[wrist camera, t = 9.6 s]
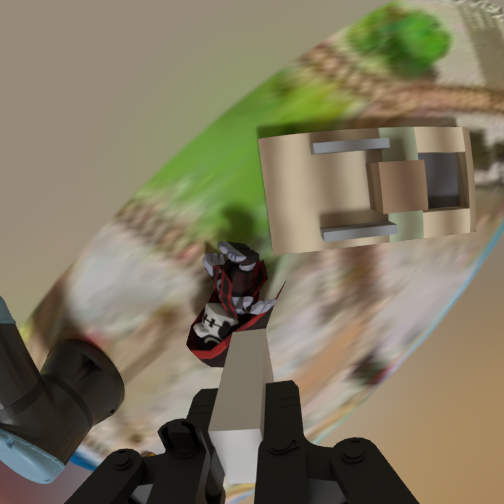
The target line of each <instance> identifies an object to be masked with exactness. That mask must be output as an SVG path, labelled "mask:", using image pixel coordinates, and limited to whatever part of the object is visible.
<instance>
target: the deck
mask: <svg viewBox="0 0 504 504" xmlns="http://www.w3.org/2000/svg"><path fill="white" fill-rule="evenodd" d="M258 144H259V151H260V158H261V165H262V173H263V180H264V187H265V195H266V202H267V210H268V217H269V225H270V232H271V240H272V248H273V256H274V255H283V254H292V253H301V252H310V251H318V250H327V249H336V248H344V247H353V246H361V245H370V244H378V243H387V242H395V241H404V240H412V239H421V238H429V237H437V236H445V235H454V234H462V233H470V232H476V202H475V184H474V171H473V161H472V152H471V144H470V136H469V129H468V128H464V127H386V128H364V129H347V130H334V131H322V132H311V133H301V134H292V135H283V136H275V137H268V138H260V139H258ZM408 160H424V164H425V173H426V184H427V197H428V210H420V211H410V212H400V213H389V214H382V213H380V212H377V211H375V210H372V209H370V200H369V190H368V180H367V172H366V164H369V163H377V162H390V161H408Z"/></svg>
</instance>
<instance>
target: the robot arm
mask: <svg viewBox="0 0 504 504" xmlns="http://www.w3.org/2000/svg"><path fill="white" fill-rule="evenodd" d="M123 400H124V386H123V382H122V379H121V377H120V375H119V373H118V371H117V370H116V368H115V367H114V365H113V364H112V363H111V362H110V361H109V359H108V358H107V357H106V356H105V355H104V354H102V353H101V352H100V351H99V350H97V349H96V348H95V347H93V346H91V345H90V344H88V343H85V342H83V341H80V340H76V339H66V340H63V341H61V342H59V343H58V344H57V345H56V346H55V347H53V348H52V349H51V351H50V352H49V354H48V356H47V359H46V361H45V363H44V365H43V367H42V369H41V371H40V373H39V371H38V369H37V367H36V365H35V364H34V362H33V360H32V358H31V356H30V354H29V352H28V350H27V348H26V346H25V344H24V342H23V340H22V338H21V335H20V333H19V331H18V329H17V327H16V321H15V320H14V319H13V318H12V316H11V314H10V312H9V310H8V308H7V306H6V303H5V301H4V300H3V298H2V297H1V296H0V460H1V461H2V462H4V463H5V464H6V465H7V466H9V467H10V468H11V469H13V470H14V471H15V472H17V473H18V474H20V475H22V476H24V477H25V478H27V479H29V480H32V481H34V482H37V483H41V484H47V483H51V482H52V481H53V480H54V479H55V478H56V477H57V476H58V475H59V474H60V472H61V471H62V470H64V469H65V465H66V464H67V463H68V461H69V460H70V458H71V457H72V455H73V454H74V452H75V451H76V449H77V448H78V447H79V445H80V444H81V442H82V441H83V439H84V438H85V437H86V435H87V434H88V432H89V431H90V429H91V428H92V427H93V426H95V425H96V424H98V423H100V422H101V421H103V420H105V419H106V418H108V417H110V416H111V415H113V414H114V413H115V412H116V411H117V410H118V408H119V407H120V405H121V404H122V402H123ZM158 434H159V437H160V439H161V441H162V443H163V445H164V447H165V449H166V451H165V453H163V454H159V455H154V456H148V457H141V455H140V454H139V452H137V451H135V450H133V449H127V448H126V449H119V450H117V451H114V452H112V453H111V454H110V455H109V456H107V457H106V459H105V460H104V461H103V462H102V463H101V464H100V465H99V466H98V467H97V468H96V470H95V471H94V472H93V473H92V474H91V475H90V476H89V477H88V478H87V480H86V481H85V482H84V483H83V484H82V485H81V486H80V487H79V488H78V489H77V490H76V491H75V493H74V494H73V495H72V496H71V497H70V498H69V499H68V500H67V501H66V502H65V503H64V504H225V497H226V495H225V490H224V487H223V481H224V476H225V478H226V481H227V483H228V484H240V483H256V485H255V498H254V504H419V502H418V501H417V500H416V499H415V497H414V496H413V494H411V492H410V491H409V489H408V488H407V487H406V485H405V484H404V483H403V482H402V480H401V479H400V477H399V476H398V475H397V473H396V472H395V471H394V469H393V468H392V467H391V466H390V464H389V463H388V462H387V460H386V459H385V457H384V456H383V455H382V454H381V452H380V451H379V449H378V448H377V447H376V445H375V444H373V443H372V442H371V441H370V440H367V439H364V438H357V437H353V438H348V439H344V440H342V441H340V442H339V443H337V444H336V445H335V446H334V447H333V448H332V447H322V446H317V445H315V444H312V443H311V442H309V441H308V440H307V439H306V438H305V436H304V433H303V423H302V413H301V404H300V396H299V388H298V386H297V385H296V384H295V383H294V382H293V381H292V380H289V381H281V382H273V371H272V365H271V359H270V353H269V347H268V341H267V335H266V330H265V329H257V330H249V331H240V332H233V333H232V337H231V341H230V345H229V349H228V353H227V357H226V361H225V365H224V369H223V373H222V377H221V381H220V385H219V388H214V389H201V390H200V391H199V392H198V393H197V394H196V395H195V396H194V398H193V401H192V404H191V408H190V409H189V412H188V415H187V418H186V419H175V420H172V421H169V422H167V423H166V424H164V425H163V426H161V427H160V429H159V430H158Z"/></svg>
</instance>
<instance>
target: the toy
mask: <svg viewBox="0 0 504 504" xmlns="http://www.w3.org/2000/svg"><path fill="white" fill-rule="evenodd" d="M218 246H219V249H220V250H221V252H222V253H223V254H227V257H228V258H229V259H228V260H227V261H226V262H225V261H224V256H223V254H219V261H218V255H217V253H211V254H210V253H207V254H205V256H204V258H203V264H204V266H205V269H206V270H207V271H208V273H209V274H210V275H211V276H212V277H213V284H214V291H213V293H212V295H211V298H210V300H209V302H208V303H206V306H205V308H204V309H203V310H202V312H201V313H200V314H199V316H198V317H197V318H196V320H195V321H194V322H193V324H192V325H191V329H190V332H189V336H188V339H187V343H186V345H187V347H188V348H189V350H190V351H191V352H192V353H193V354H194V355H195V356H196V357H197V358H199V359H200V360H201V361H202V362H203V363H205V364H207V365H209V366H210V367H224V365H225V361H226V357H227V353H228V349H229V345H230V341H231V337H232V333H233V332H240V331H249V330H257V329H265V330H266V327H267V324H268V321H269V318H270V315H271V312H272V310H273V307H274V304H275V303H276V301H277V298H278V296H279V294H280V292H281V290H282V288H283V287H282V288H281V290H280V292H279V293H278V295H277V297H276V298H274V299H272V300H266V301H265V302H264V303H263V301H258V299H259V290H260V289H261V287H262V286H263V285H264V283H265V282H266V281H267V279H268V277H267V272H266V268H265V264H264V260H263V261H261V263H260V260H259V254H258V253H256V252H255V251H253V250H250V248H249V247H248V246H247V245H246V244H241V243H233V242H219V243H218ZM285 282H286V281H285ZM284 284H285V283H284ZM283 286H284V285H283ZM257 314H258V315H257Z"/></svg>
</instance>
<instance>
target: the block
mask: <svg viewBox="0 0 504 504" xmlns="http://www.w3.org/2000/svg"><path fill="white" fill-rule="evenodd" d="M366 172H367V180H368V190H369V200H370V209H372V210H375V211H377V212H380V213H382V214H389V213H400V212H410V211H420V210H428V197H427V184H426V173H425V164H424V160H408V161H390V162H377V163H369V164H366Z"/></svg>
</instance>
